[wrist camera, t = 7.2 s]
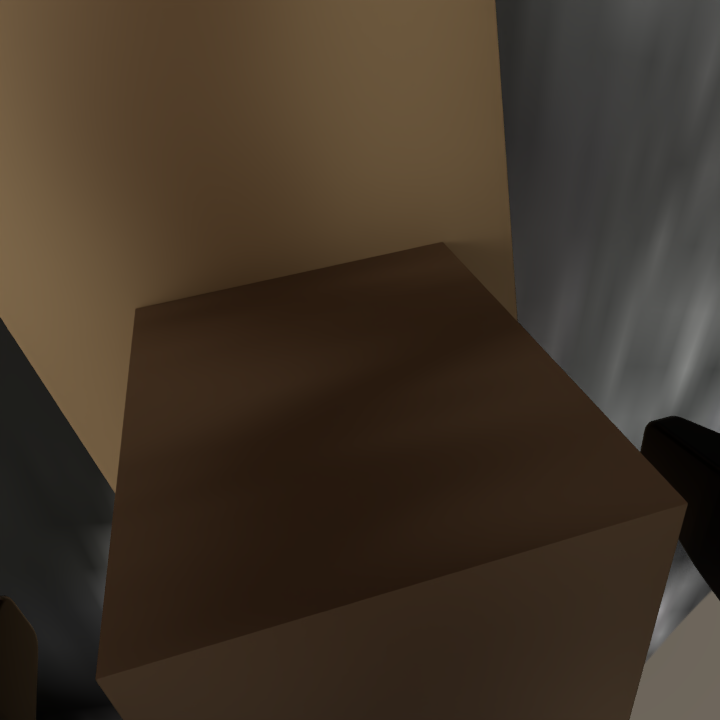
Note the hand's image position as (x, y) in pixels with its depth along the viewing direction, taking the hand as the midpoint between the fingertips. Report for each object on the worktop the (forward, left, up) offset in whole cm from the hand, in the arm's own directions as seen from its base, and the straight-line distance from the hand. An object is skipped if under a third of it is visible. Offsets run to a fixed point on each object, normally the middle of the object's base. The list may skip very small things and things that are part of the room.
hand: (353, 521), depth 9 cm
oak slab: (0, 0, -6) cm, 6 cm away
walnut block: (0, 0, -3) cm, 3 cm away
